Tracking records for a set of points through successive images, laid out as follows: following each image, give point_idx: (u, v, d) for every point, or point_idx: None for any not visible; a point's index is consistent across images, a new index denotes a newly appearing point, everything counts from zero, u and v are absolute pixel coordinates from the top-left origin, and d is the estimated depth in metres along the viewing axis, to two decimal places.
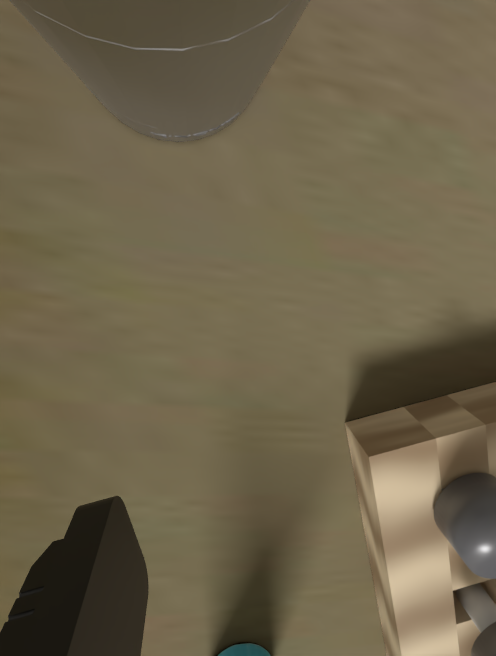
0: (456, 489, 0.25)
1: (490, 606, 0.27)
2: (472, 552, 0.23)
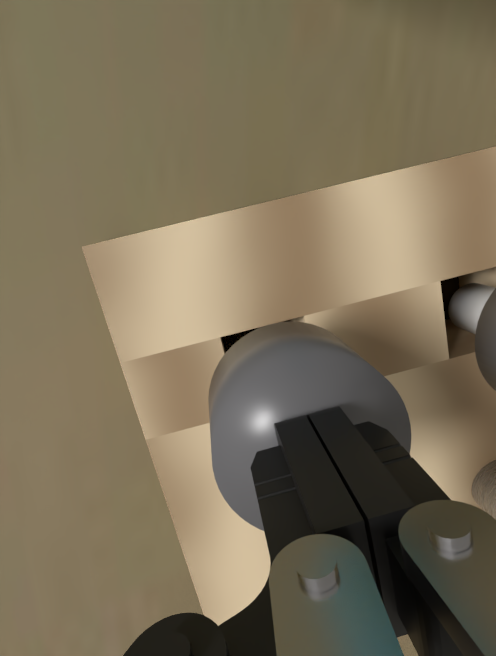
0: None
1: None
2: None
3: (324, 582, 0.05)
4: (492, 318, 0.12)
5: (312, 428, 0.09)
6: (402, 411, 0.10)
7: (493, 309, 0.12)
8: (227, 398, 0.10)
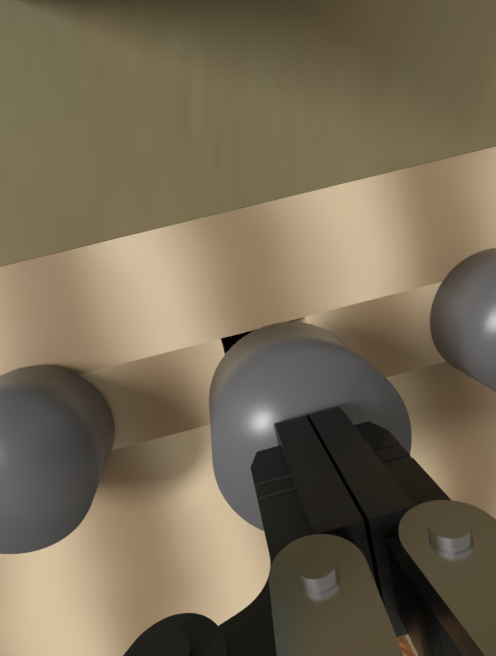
0: None
1: None
2: None
3: (324, 582, 0.05)
4: (211, 390, 0.12)
5: (312, 428, 0.09)
6: (80, 449, 0.12)
7: (213, 380, 0.12)
8: None
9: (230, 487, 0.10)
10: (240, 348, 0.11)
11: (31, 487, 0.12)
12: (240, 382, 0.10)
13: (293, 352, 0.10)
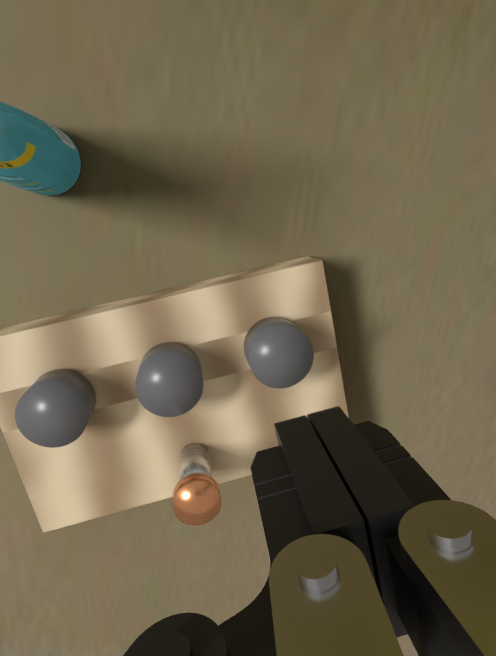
0: None
1: None
2: (277, 333, 0.30)
3: (324, 581, 0.05)
4: (139, 367, 0.32)
5: (312, 428, 0.09)
6: (82, 402, 0.29)
7: (140, 364, 0.32)
8: (20, 398, 0.29)
9: (141, 397, 0.30)
10: (149, 352, 0.31)
11: (61, 418, 0.29)
12: (144, 362, 0.29)
13: (162, 353, 0.30)
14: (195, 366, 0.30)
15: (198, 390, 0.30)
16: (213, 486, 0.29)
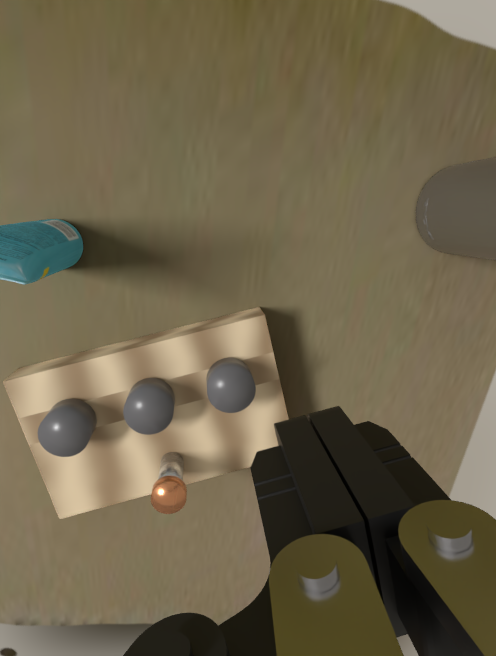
0: (246, 366, 0.43)
1: None
2: (227, 372, 0.41)
3: (324, 582, 0.05)
4: None
5: (312, 428, 0.09)
6: (85, 424, 0.40)
7: None
8: (41, 422, 0.40)
9: (128, 420, 0.41)
10: (134, 385, 0.42)
11: (70, 436, 0.40)
12: (130, 395, 0.40)
13: (142, 388, 0.40)
14: (167, 397, 0.41)
15: (170, 415, 0.41)
16: (180, 485, 0.40)
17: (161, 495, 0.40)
